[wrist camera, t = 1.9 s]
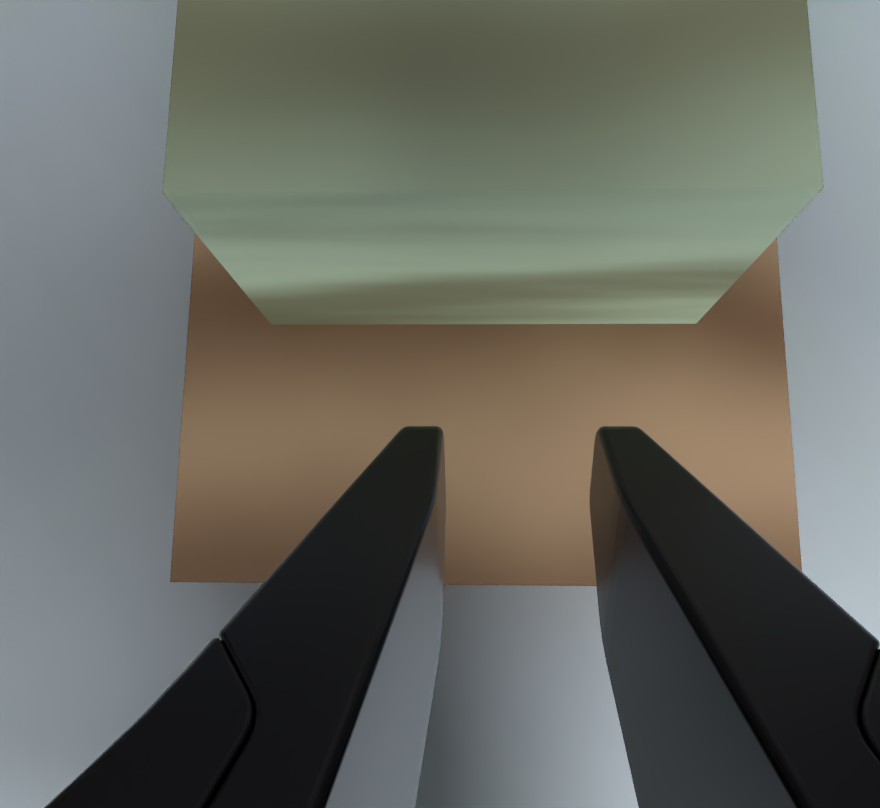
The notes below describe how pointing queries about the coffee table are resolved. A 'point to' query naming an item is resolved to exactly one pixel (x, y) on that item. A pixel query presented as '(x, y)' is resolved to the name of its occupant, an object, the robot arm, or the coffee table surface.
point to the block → (490, 154)
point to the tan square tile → (470, 425)
